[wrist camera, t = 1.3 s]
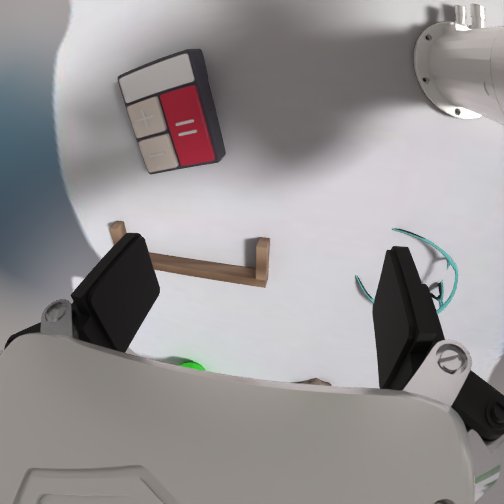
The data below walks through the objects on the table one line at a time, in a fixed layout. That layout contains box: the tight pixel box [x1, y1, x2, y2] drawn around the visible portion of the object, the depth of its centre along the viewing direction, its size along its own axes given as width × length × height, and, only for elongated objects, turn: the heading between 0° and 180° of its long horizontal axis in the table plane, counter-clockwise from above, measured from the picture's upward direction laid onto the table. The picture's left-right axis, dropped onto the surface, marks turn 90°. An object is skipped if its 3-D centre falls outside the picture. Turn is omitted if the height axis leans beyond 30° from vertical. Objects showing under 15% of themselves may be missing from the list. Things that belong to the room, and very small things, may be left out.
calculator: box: [118, 49, 226, 174], centre depth 34 cm, size 11×4×15 cm
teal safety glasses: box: [355, 229, 458, 314], centre depth 40 cm, size 14×15×5 cm
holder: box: [109, 221, 270, 288], centre depth 47 cm, size 8×27×2 cm, turn 90°
